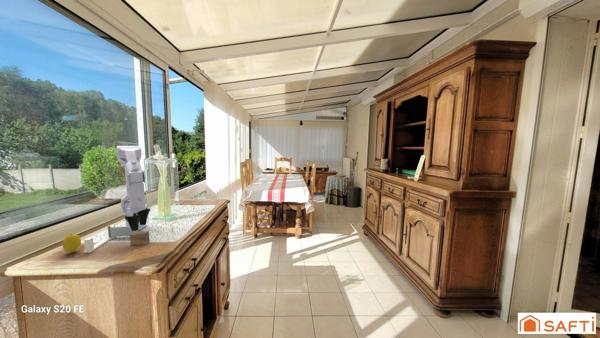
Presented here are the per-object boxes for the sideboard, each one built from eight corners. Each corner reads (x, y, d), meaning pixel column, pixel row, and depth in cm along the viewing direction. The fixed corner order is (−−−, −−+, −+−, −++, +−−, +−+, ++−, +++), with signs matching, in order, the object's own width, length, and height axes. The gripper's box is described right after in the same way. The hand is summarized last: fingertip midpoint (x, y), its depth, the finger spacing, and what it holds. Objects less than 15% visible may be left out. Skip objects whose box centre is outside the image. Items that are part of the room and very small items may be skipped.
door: (108, 237, 110) (107, 226, 110) (110, 235, 112) (109, 225, 112) (136, 235, 112) (135, 225, 112) (138, 234, 114) (137, 223, 114)
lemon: (60, 256, 93) (58, 237, 92) (66, 251, 98) (64, 232, 97) (79, 253, 95) (77, 234, 94) (84, 248, 100) (82, 230, 99)
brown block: (135, 242, 107) (134, 231, 106) (149, 241, 108) (148, 230, 108) (130, 245, 103) (129, 234, 102) (145, 244, 104) (144, 233, 104)
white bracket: (110, 236, 114) (110, 225, 113) (116, 235, 114) (115, 225, 114) (83, 253, 96) (82, 240, 95) (90, 252, 96) (89, 239, 96)
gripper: (135, 195, 110) (137, 223, 111) (117, 202, 96) (120, 234, 97) (151, 194, 111) (153, 222, 112) (136, 201, 97) (138, 232, 98)
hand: (139, 227), depth 105 cm, fingers open, 7 cm apart
